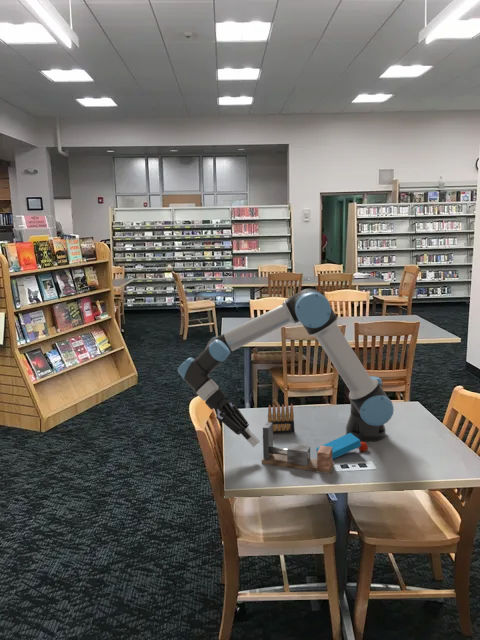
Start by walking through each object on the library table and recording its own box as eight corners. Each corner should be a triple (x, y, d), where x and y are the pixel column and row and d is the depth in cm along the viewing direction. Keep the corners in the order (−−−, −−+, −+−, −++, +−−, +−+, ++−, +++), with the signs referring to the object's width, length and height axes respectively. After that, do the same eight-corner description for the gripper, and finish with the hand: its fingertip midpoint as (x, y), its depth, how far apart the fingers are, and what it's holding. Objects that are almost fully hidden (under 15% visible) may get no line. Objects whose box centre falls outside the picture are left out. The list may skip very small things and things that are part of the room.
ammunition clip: (293, 431, 198) (293, 402, 196) (294, 432, 196) (294, 404, 194) (267, 432, 197) (266, 403, 195) (268, 434, 195) (267, 405, 193)
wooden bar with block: (261, 463, 171) (261, 445, 169) (267, 456, 176) (266, 438, 175) (330, 473, 162) (330, 454, 161) (333, 465, 167) (333, 446, 166)
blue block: (329, 473, 172) (373, 452, 176) (324, 456, 170) (368, 435, 174) (320, 465, 178) (363, 445, 182) (315, 448, 177) (358, 428, 180)
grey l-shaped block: (263, 458, 171) (262, 427, 169) (267, 452, 175) (267, 422, 173) (307, 465, 165) (306, 432, 163) (310, 458, 169) (310, 427, 167)
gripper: (213, 395, 184) (255, 442, 181) (197, 407, 172) (243, 458, 169) (225, 383, 181) (269, 431, 178) (210, 394, 169) (257, 445, 166)
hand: (256, 444), depth 173 cm, fingers closed
